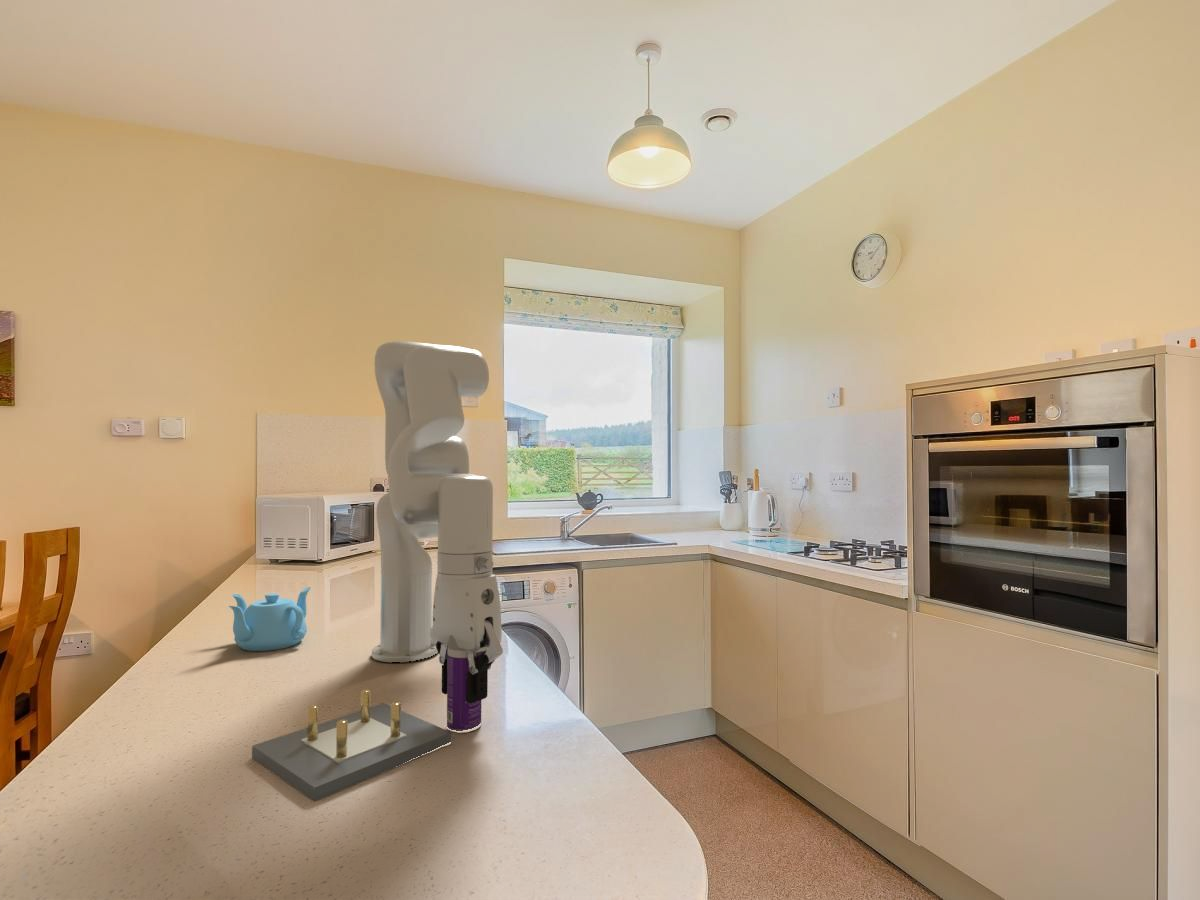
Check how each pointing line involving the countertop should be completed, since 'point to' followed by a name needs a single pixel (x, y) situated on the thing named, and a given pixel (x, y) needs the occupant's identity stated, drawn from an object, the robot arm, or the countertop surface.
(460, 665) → the container
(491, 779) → the countertop surface
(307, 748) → the plate
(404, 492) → the robot arm
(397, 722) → the standoffs
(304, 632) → the teapot
